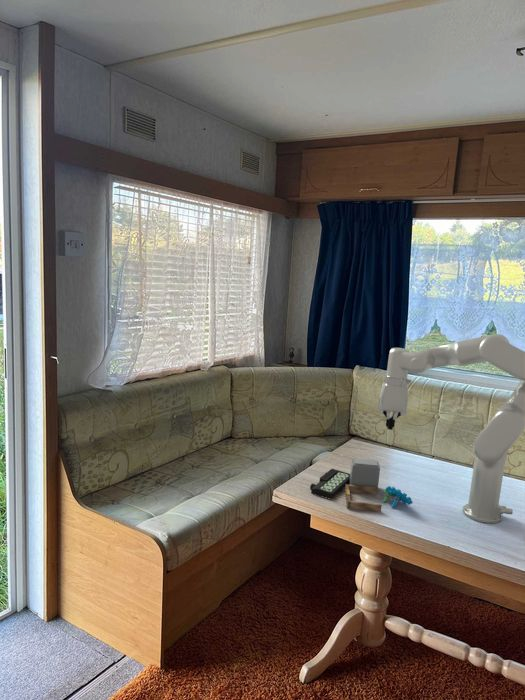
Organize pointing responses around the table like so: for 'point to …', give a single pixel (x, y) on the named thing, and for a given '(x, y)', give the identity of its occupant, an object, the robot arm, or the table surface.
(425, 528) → the table surface
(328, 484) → the digital display
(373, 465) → the box
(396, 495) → the gear
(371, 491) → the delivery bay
